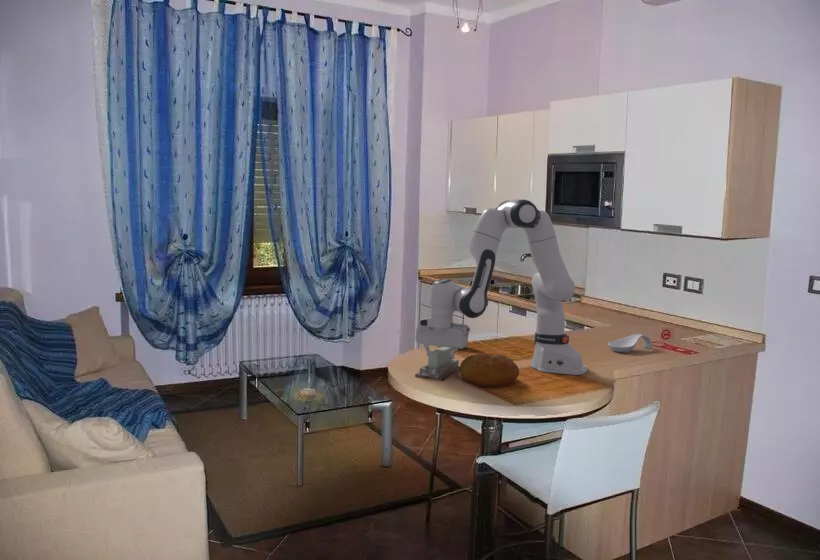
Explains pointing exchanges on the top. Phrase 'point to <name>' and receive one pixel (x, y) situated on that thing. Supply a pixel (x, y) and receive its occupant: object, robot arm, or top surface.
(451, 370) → the grey rectangular tray
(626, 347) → the spoon rest
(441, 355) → the pale green rectangular block
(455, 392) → the top surface
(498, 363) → the bread
